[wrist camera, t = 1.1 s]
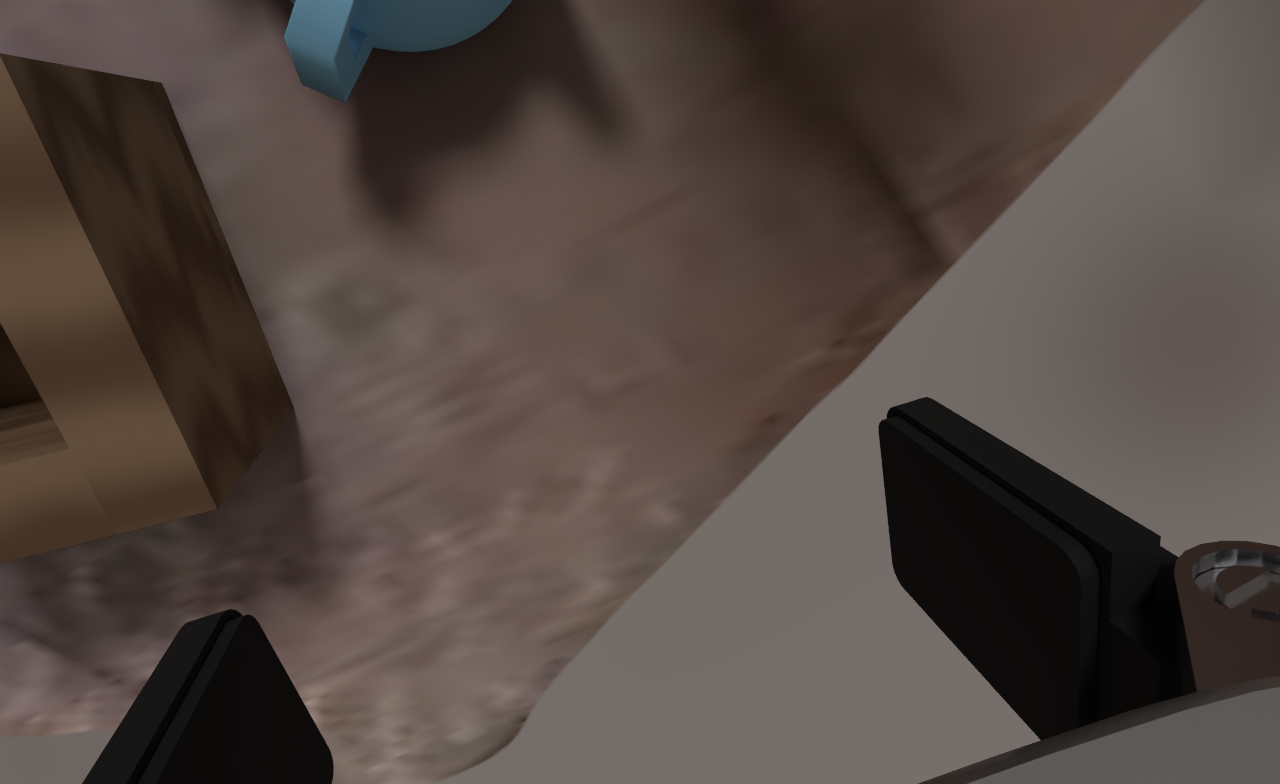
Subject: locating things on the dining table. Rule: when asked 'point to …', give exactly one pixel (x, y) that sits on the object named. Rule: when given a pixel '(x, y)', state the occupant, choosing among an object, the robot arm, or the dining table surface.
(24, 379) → the well block
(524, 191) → the dining table surface
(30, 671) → the dining table surface
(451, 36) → the teapot
